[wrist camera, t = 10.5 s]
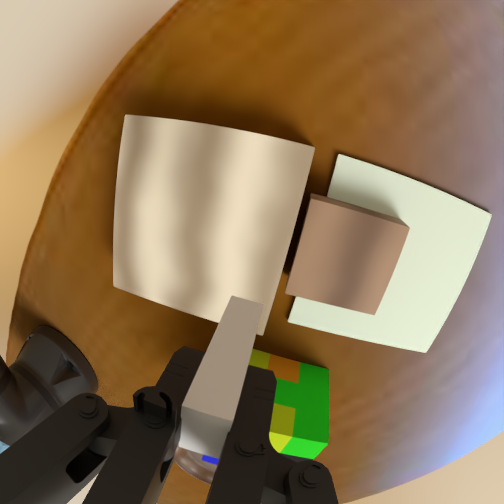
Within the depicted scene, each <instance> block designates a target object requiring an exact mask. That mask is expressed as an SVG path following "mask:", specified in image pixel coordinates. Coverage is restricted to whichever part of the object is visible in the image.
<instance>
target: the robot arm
mask: <svg viewBox="0 0 504 504" xmlns="http://www.w3.org/2000/svg"><path fill="white" fill-rule="evenodd" d="M263 305H264V304H261V303H258V302H254V301H250V300H247V299H243V298H239V297H236V296H231V298H230V300H229V302H228V304H227V307H226V309H225V311H224V313H223V315H222V318H221V320H220V322H219V324H218V326H217V329H216V331H215V333H214V335H213V338H212V340H211V342H210V344H209V346H208V349H207V351H206V353H204V352H201V351H198V350H195V349H192V348H188V347H185V346H184V347H182V348H181V349H179V350H178V351H176V352H175V353H174V354H173V356H172V358H171V360H170V361H169V364H168V365H167V367H166V368H165V371H164V372H163V373H162V375H161V377H160V379H159V380H158V382H157V384H156V386H151V387H144V388H142V389H139V390H137V391H136V392H135V393H134V394H133V401H134V407H132V408H123V407H116V406H110V405H107V403H106V402H105V401H104V400H103V398H102V397H100V396H98V395H96V394H95V393H96V392H97V390H98V381H97V378H96V375H95V373H94V371H93V369H92V367H91V366H90V364H89V363H88V361H87V360H86V358H85V357H84V356H83V355H82V353H81V352H80V351H79V350H78V349H77V348H76V347H75V346H74V344H73V343H71V342H70V341H69V340H68V339H67V338H66V337H65V336H64V335H62V334H61V333H60V332H58V331H56V330H55V329H53V328H51V327H48V326H45V325H41V326H38V327H37V328H35V329H34V330H33V331H32V332H31V333H30V334H29V335H28V337H27V340H26V342H25V344H24V345H23V347H22V349H21V351H20V353H19V355H18V357H17V359H16V360H15V362H14V363H13V364H12V365H11V366H10V367H9V368H8V367H7V365H6V363H5V362H4V360H3V359H2V357H1V356H0V504H67V503H68V502H69V501H70V500H71V499H72V498H73V497H74V496H75V495H76V494H77V493H78V492H79V491H81V489H83V488H84V487H85V486H86V485H87V484H88V483H89V482H90V481H91V480H92V479H93V478H94V477H95V476H96V475H97V474H98V473H99V474H98V476H97V478H96V480H95V481H94V483H93V485H92V487H91V489H90V490H89V493H88V494H87V496H86V498H85V499H84V501H83V503H82V504H156V502H157V500H158V498H159V495H160V493H161V490H162V488H163V485H164V483H165V480H166V478H167V476H168V473H169V471H170V468H171V466H172V463H173V461H174V455H175V451H176V448H177V446H178V444H179V447H182V448H185V449H188V450H191V451H194V452H197V453H200V454H204V455H207V456H210V457H214V458H217V459H219V461H218V465H217V468H216V471H215V473H214V476H213V479H212V483H211V487H210V490H209V493H208V496H207V500H206V503H205V504H260V503H261V504H338V500H337V496H336V492H335V488H334V485H333V481H332V477H331V474H330V472H329V470H328V469H327V468H326V467H325V466H324V465H323V464H321V463H319V462H317V461H312V460H305V461H300V462H298V463H297V462H295V461H293V460H291V459H289V458H287V457H285V456H283V455H281V454H280V453H278V452H277V451H276V450H275V449H274V448H273V446H272V444H271V442H270V439H269V432H270V426H271V420H272V413H273V406H274V400H275V392H276V386H277V380H276V377H275V374H274V372H273V371H272V370H268V369H264V368H260V367H256V366H252V365H248V364H249V360H250V356H251V352H252V348H253V344H254V341H255V337H256V333H257V329H258V325H259V321H260V317H261V313H262V309H263Z"/></svg>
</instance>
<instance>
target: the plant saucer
mask: <svg viewBox="0 0 504 504" xmlns="http://www.w3.org/2000/svg"><path fill="white" fill-rule="evenodd" d="M202 457H203V454H200V453H197V452H194V451H191V450H188V449H185V448H182V447H179V444H178V446H177V448H176V451H175V455H174V461H175V462H176V463H177V464H178V465H179V466H180V467H181V468H182V469H183V470H185V471H186V472H187V473H189V474H190V475H192V476H193V477H195V478H197V479H199V480H201V481H203V482H206V483H208V484H211V483H212V479H213V476H214V473H215V471H216V468H217V465H215V464H212V463H209V462H206V461H203V460H202Z"/></svg>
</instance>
